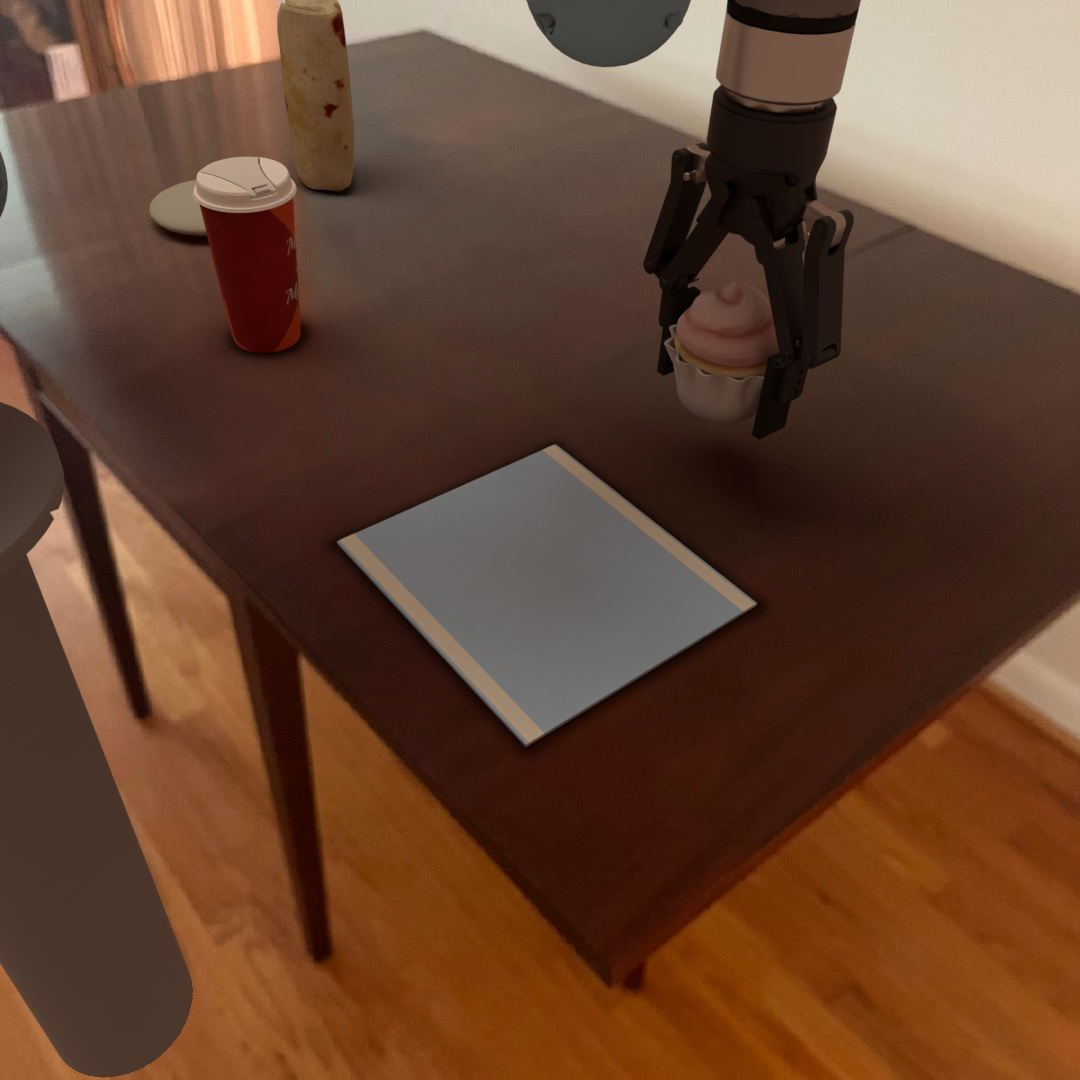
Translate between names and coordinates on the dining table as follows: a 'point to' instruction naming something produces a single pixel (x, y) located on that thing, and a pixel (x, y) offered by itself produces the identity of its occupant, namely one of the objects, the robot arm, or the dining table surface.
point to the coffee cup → (253, 248)
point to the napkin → (544, 588)
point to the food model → (317, 91)
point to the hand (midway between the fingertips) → (718, 398)
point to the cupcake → (723, 352)
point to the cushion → (178, 210)
